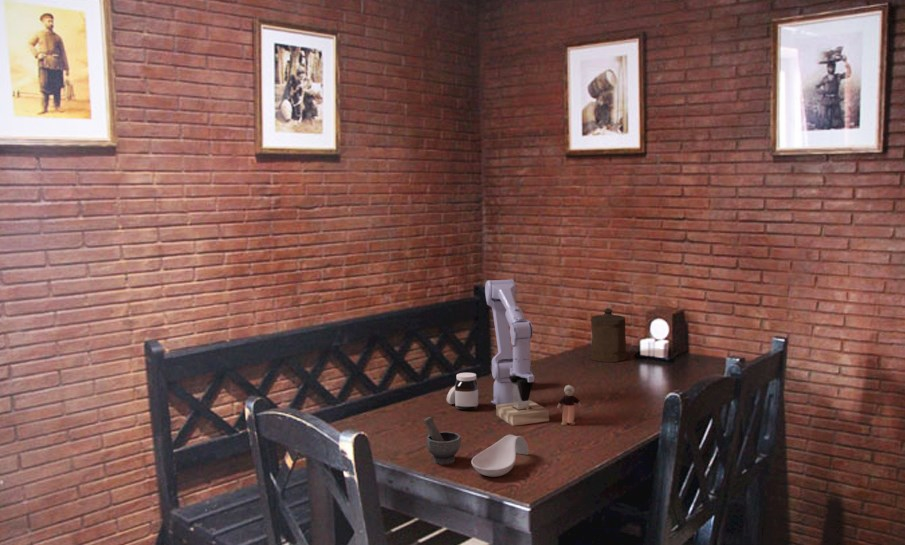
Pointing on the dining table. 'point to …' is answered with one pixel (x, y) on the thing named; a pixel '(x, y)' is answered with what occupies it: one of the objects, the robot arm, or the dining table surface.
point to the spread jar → (464, 392)
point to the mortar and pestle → (441, 443)
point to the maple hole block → (522, 414)
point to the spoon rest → (500, 456)
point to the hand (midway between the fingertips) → (522, 398)
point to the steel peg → (518, 397)
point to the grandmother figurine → (568, 405)
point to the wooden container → (608, 337)
